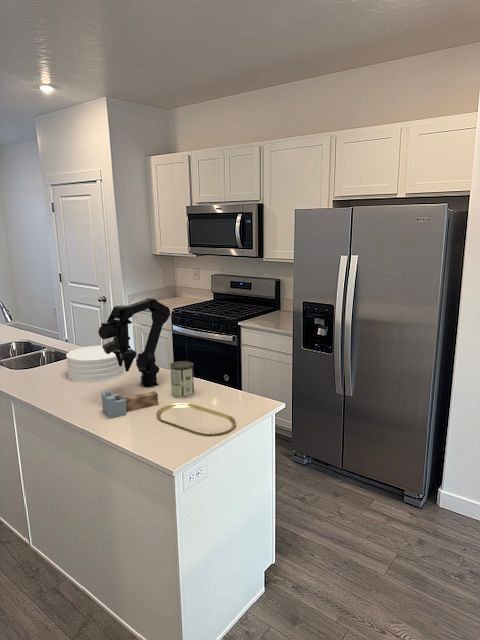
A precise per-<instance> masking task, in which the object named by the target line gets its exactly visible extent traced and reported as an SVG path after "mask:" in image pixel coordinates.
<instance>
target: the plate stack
mask: <svg viewBox="0 0 480 640" xmlns="http://www.w3.org/2000/svg"><path fill="white" fill-rule="evenodd" d="M102 346H103V345H90V346H82V347H78V348H75V349H72V350H71V351H68V352H67V353H66V364H67V365H66V367H67V377H68V379H69V380H70V379H71V380H70V381H72V380H73V382H76V381H77V383H101V382H106V381H110V380H114V379H117V378H119V377H122V376H123V375H124V374H125V372H126V370H125V366H124V361H123V363H122V366H119V364H118V361H117V358H116V355H115V354H114V353H113V352H111V353H110V354H106V353H105V352H104V349H103V347H102Z"/></svg>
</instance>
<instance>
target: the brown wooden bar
mask: <svg viewBox="0 0 480 640" xmlns="http://www.w3.org/2000/svg"><path fill="white" fill-rule="evenodd" d="M158 395H159V394H158V392H156V391H155V390H153V391H147V392H143V393H138V394H134V395H129V396H122V395H121V396H120V397H118V400H122V399H125V400H126V413H128V412H132V411H137V410H140V409H146V408H150V407H153V406H155V407H156V406H158V405H159V396H158Z"/></svg>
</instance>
